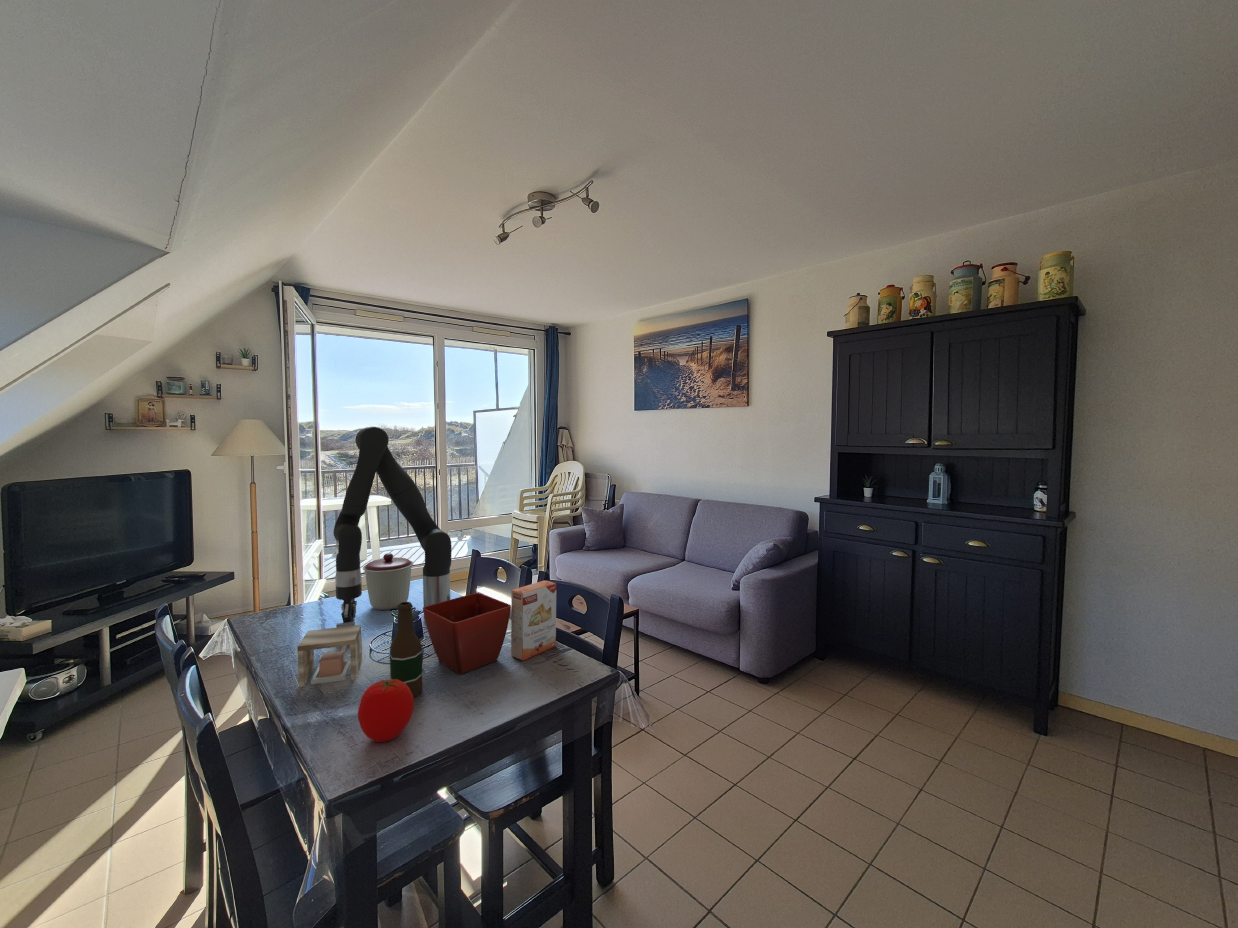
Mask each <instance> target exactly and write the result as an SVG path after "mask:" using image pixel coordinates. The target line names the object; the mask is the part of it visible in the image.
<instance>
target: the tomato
mask: <svg viewBox="0 0 1238 928" xmlns="http://www.w3.org/2000/svg"><path fill="white" fill-rule="evenodd" d="M414 700H415V699H414V697H413V695H412V692H411V690H410V688H409V687H408V686H407V685H406V684H405V683H404V682H402V681H400V680H397V679H390V678H389V679H385V680H384V679H381V680H380V681H376V682H374V683H373V684H371V685H369V686H368V687H367V688H366V689H365V690H364V692H363V694H362V696H361V699H360V701H359V702H360V703H359V706H358V710H357V719H358V723H359V726H360V728H361V731H362V732H363V733H364V734H365V736H366V737H367V738H368V739H370V740H371V741H373V742H377V743H384V742H389V741H391V740H393V739H395V738H396V737H397V736H398V735H400V734H401V733H402V732H403V731H404V729H405V728H406V727H407V726H408V724H409V722H410V719H411V718H412V716H413V712H414V707H415V706H414V705H415V704H414V703H415V702H414Z"/></svg>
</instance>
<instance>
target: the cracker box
mask: <svg viewBox="0 0 1238 928" xmlns="http://www.w3.org/2000/svg"><path fill="white" fill-rule="evenodd" d="M510 597H511V601H510V602H511V603H510V605H511V610H510V615H511V616H510V617H511V619H510V620H511V621H510V622H511V624H510V625H511V627H510V628H511V629H510V630H511V632H510V634H511V636H510V638H511V639H510V640H511V641H510V644H511V646H510V649H511V651H510V652H511V653H510V654H511V657H512V658H513V657H514V658H516V659H518V660H520V661H523V662H524V661H527V660H528V659H530V658H533V657H535V656H537V655H539V654H541V653H543V652H546V651H549V650H550V649H553V648H555V647H556V646H557V645H556V644H557V642H556V641H557V640H556V637H557V583H555V582H552V581H550V580H549V581H548V580H542V581H537V582H535V583H529V584H528V585H524V586H521V587H517V588H514V589H511V596H510Z"/></svg>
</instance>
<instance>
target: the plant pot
mask: <svg viewBox="0 0 1238 928" xmlns="http://www.w3.org/2000/svg"><path fill="white" fill-rule="evenodd" d="M422 612H423V619H424V618H425V622H426V623H425V622H424V623H425V625H426V629H427V632H428V635H429V639H430V642H431V645H432V647H433V650H434V652H435V656H436V657H437V659H438V661H439V663H441V664H442V665H444V666H445V667H447V668H449V669H450V670H452V671H454V672H455V673H457V674H458V675H459V674H460V675H462V674H465V673H468V672H471V671H473V670H475V669H478V668H480V667H483V666H486V665H488V664H491V663H493V662H496V661H497V660H498V658H499V656H500V654H501V650H502V647H503V645H504V642H505V639H506V635H507V631H508V626H509V622H510V617H511V616H510V615H511V603H510V604H509V603H506V602H504V601H501V600H498V599H496V598H494V597H491V596H489V595H486V594H484V593H481V592H473V593H471V594H468V595H463V596H459V597H455V598H450V600H447V601H443V602H440V603H436V604H432V605H429V606H425V607H424V606H423V607H422Z"/></svg>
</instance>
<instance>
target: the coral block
mask: <svg viewBox="0 0 1238 928" xmlns="http://www.w3.org/2000/svg"><path fill="white" fill-rule="evenodd" d="M344 653H345V652H344V651H341V650H339V651H332V652H323V654H322V655H321V657H320V659H319V661H318V662H319V664H318V666H319V669H320V677H327V676H334V675H341V674H342V672H343V669H344V660H345V655H344Z"/></svg>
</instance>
